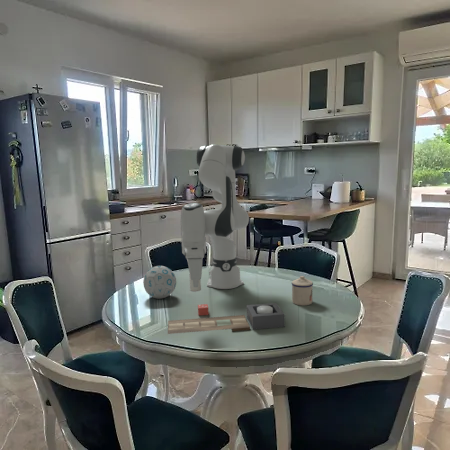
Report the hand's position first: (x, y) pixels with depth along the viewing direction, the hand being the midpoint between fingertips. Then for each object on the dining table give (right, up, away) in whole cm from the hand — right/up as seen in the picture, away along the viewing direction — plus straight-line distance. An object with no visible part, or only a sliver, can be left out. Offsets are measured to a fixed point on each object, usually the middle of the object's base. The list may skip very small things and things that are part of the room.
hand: (195, 284), depth 141 cm
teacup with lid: (+45, -12, +26) cm, 53 cm away
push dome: (+26, -13, +5) cm, 30 cm away
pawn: (0, -2, 0) cm, 2 cm away
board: (+4, -16, +3) cm, 17 cm away
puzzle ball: (-19, -12, +37) cm, 43 cm away
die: (+2, -15, +13) cm, 20 cm away
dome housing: (+26, -15, +5) cm, 31 cm away
